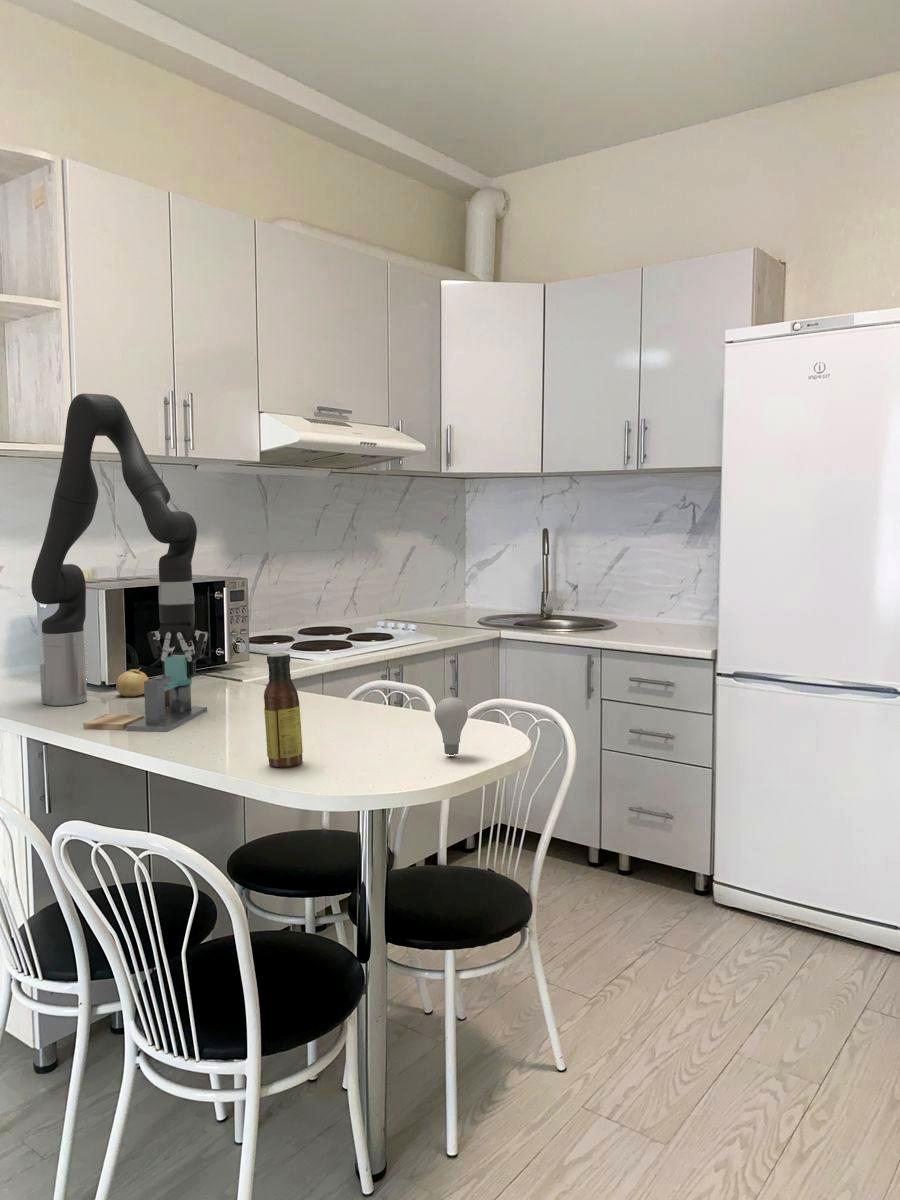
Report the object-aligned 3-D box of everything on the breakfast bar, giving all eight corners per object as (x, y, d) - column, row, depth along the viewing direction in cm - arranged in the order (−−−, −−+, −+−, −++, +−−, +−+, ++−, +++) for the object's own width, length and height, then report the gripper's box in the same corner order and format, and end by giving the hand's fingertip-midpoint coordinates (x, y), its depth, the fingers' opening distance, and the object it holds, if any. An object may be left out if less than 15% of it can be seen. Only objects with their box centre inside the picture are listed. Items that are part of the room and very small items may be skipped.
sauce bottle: (307, 760, 166) (304, 651, 164) (296, 769, 160) (293, 656, 158) (273, 758, 167) (269, 651, 165) (260, 768, 161) (257, 656, 159)
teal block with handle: (147, 692, 196) (146, 663, 195) (174, 681, 208) (173, 654, 207) (170, 692, 195) (169, 663, 194) (195, 681, 207) (194, 654, 206)
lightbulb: (465, 762, 163) (464, 701, 162) (431, 760, 164) (431, 700, 163) (470, 753, 169) (470, 694, 168) (438, 752, 170) (437, 693, 169)
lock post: (126, 730, 190) (124, 683, 189) (170, 710, 210) (168, 667, 209) (167, 731, 189) (165, 684, 188) (207, 711, 209) (205, 667, 208)
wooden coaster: (83, 728, 192) (83, 723, 192) (105, 719, 201) (105, 714, 201) (123, 730, 191) (123, 724, 191) (144, 720, 200) (143, 715, 200)
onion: (111, 699, 224) (110, 670, 224) (122, 692, 232) (121, 665, 232) (144, 698, 225) (143, 670, 224) (154, 692, 233) (153, 664, 232)
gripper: (138, 603, 200) (141, 679, 202) (199, 603, 198) (202, 681, 200) (154, 599, 208) (157, 674, 209) (214, 600, 206) (216, 675, 207)
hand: (179, 677), depth 205 cm, fingers closed on teal block with handle, 4 cm apart
